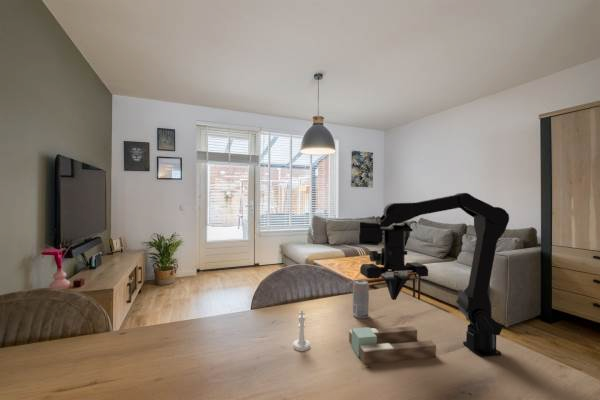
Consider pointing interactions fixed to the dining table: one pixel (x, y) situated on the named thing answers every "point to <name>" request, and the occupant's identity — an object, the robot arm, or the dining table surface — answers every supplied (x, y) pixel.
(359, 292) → the energy drink
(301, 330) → the chess piece
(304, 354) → the dining table surface
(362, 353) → the chute
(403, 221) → the robot arm
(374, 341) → the block
